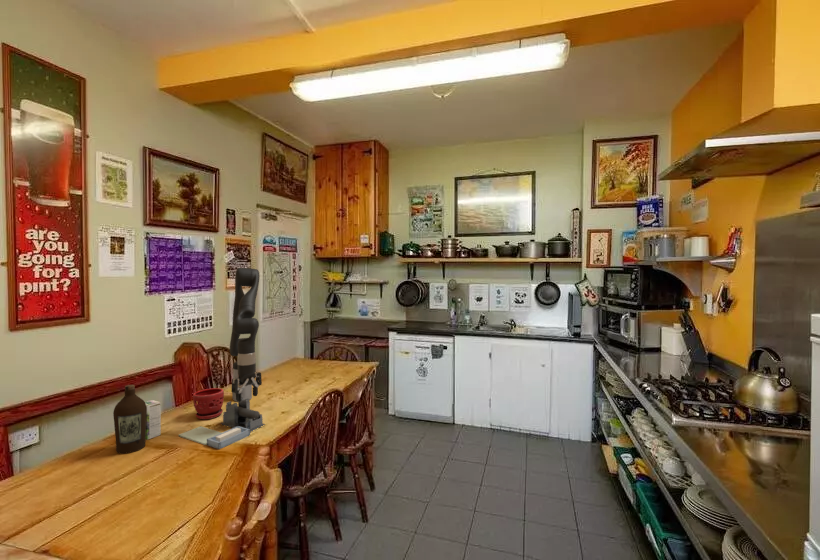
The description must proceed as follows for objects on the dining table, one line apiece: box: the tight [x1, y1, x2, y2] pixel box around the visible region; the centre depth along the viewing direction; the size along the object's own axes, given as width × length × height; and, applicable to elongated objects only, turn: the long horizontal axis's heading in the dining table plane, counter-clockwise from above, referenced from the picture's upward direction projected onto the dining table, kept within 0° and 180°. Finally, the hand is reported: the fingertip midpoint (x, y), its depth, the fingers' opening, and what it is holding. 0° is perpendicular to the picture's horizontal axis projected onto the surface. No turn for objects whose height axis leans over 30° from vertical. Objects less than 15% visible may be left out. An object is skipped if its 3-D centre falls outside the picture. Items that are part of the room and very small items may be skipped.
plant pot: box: [192, 387, 225, 420], centre depth 185 cm, size 13×13×12 cm
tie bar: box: [216, 428, 241, 442], centre depth 159 cm, size 3×10×3 cm, turn 153°
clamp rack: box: [220, 397, 266, 433], centre depth 174 cm, size 19×8×11 cm, turn 62°
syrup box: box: [144, 399, 162, 440], centre depth 163 cm, size 6×6×14 cm
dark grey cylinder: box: [238, 407, 261, 420], centre depth 174 cm, size 18×4×4 cm, turn 62°
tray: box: [206, 426, 251, 450], centre depth 159 cm, size 8×15×2 cm, turn 152°
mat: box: [177, 425, 223, 446], centre depth 163 cm, size 18×10×1 cm, turn 62°
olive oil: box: [112, 384, 147, 454], centre depth 151 cm, size 11×11×25 cm
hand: (247, 398), depth 172 cm, fingers open, 8 cm apart
